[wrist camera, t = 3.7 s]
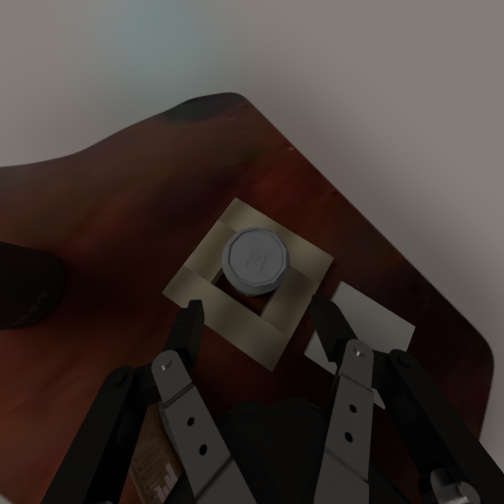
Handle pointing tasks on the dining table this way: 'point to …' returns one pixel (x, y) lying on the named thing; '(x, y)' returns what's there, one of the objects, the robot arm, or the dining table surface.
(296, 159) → the dining table surface
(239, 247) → the beer can
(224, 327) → the socket block
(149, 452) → the tin
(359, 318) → the pad
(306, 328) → the dining table surface
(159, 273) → the dining table surface
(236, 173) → the dining table surface
